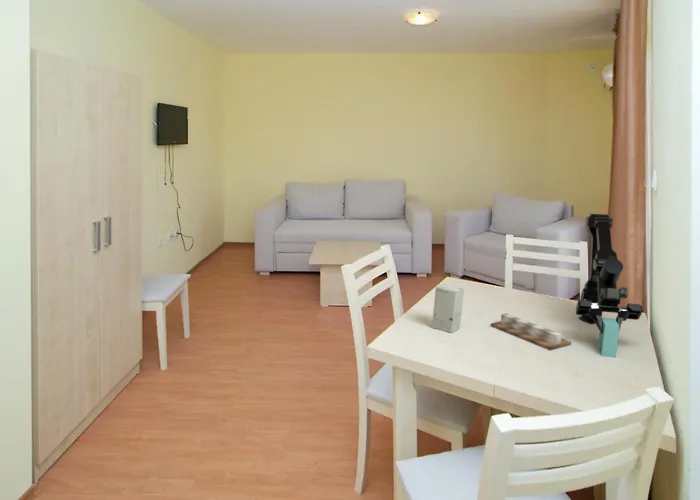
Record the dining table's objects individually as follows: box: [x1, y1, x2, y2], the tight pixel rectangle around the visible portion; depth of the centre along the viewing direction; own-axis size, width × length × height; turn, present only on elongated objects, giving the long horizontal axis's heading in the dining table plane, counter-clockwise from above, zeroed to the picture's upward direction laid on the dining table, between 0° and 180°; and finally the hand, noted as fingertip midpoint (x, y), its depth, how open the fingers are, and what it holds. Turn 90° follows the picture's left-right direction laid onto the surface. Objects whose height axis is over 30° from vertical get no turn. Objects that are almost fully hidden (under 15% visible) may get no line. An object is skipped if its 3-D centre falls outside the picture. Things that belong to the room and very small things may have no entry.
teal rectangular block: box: [597, 317, 620, 358], centre depth 184 cm, size 7×4×10 cm, turn 166°
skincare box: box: [431, 283, 465, 334], centre depth 203 cm, size 8×6×15 cm
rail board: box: [490, 313, 572, 351], centre depth 199 cm, size 26×10×4 cm, turn 31°
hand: (609, 333), depth 183 cm, fingers closed on teal rectangular block, 4 cm apart
